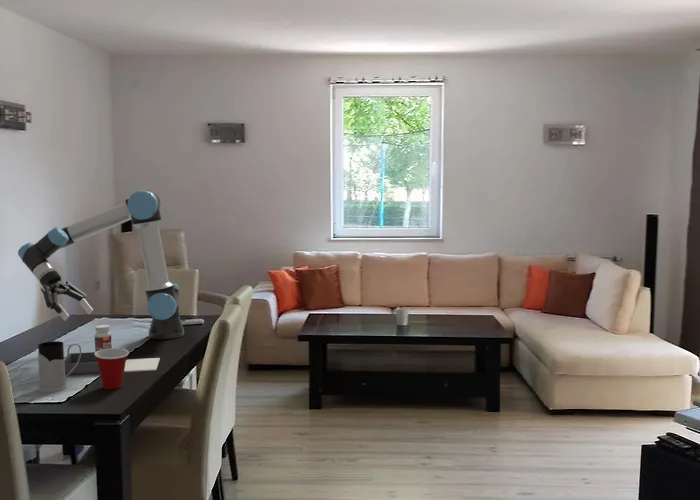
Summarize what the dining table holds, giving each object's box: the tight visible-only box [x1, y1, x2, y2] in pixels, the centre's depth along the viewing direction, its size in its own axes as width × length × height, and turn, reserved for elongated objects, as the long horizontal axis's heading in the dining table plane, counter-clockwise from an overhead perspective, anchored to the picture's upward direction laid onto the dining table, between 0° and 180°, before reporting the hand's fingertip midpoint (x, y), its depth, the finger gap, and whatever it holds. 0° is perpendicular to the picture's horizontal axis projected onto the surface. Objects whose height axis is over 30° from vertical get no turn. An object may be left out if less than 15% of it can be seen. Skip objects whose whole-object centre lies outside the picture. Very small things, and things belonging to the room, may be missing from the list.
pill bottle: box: [94, 324, 113, 352], centre depth 269 cm, size 6×6×11 cm
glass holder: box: [37, 340, 82, 394], centre depth 226 cm, size 9×14×15 cm, turn 134°
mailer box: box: [65, 351, 161, 376], centre depth 251 cm, size 32×16×4 cm, turn 101°
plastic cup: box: [94, 347, 130, 391], centre depth 226 cm, size 11×11×12 cm
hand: (79, 315), depth 271 cm, fingers open, 13 cm apart
